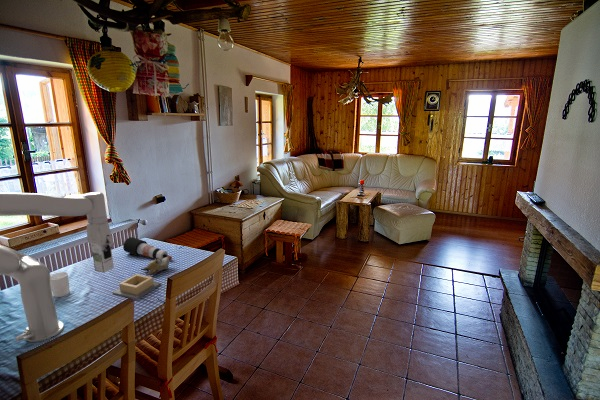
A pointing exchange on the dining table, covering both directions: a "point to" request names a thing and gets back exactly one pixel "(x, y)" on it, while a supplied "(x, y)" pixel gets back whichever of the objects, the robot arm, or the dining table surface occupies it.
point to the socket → (136, 286)
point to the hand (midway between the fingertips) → (102, 256)
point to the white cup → (59, 284)
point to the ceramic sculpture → (157, 265)
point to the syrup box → (101, 259)
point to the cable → (143, 249)
